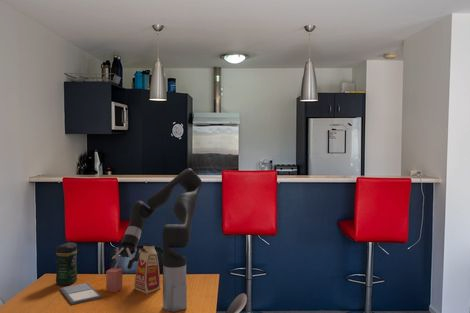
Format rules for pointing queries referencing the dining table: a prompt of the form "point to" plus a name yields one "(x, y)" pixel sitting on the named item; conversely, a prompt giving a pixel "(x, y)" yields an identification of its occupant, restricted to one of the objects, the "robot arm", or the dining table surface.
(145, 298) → the dining table surface
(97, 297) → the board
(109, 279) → the pink rectangular block
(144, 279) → the milk carton
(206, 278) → the dining table surface
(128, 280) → the dining table surface
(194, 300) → the dining table surface
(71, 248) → the coffee jar
